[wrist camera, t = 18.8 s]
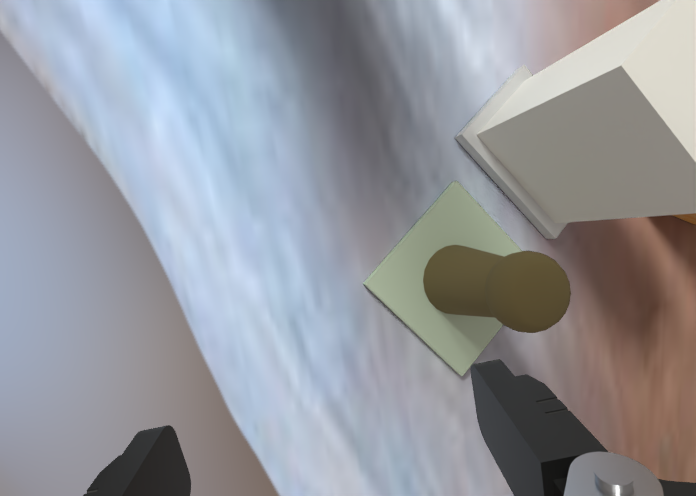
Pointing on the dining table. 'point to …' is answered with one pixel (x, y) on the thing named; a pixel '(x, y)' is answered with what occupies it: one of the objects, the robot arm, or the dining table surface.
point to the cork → (498, 286)
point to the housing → (599, 126)
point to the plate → (408, 271)
